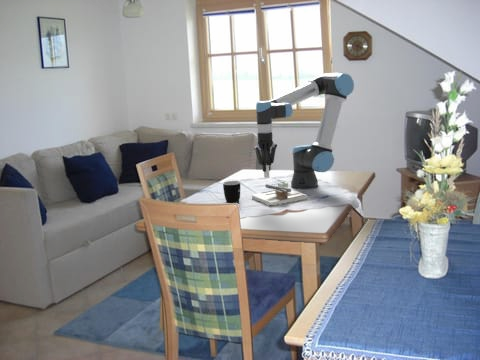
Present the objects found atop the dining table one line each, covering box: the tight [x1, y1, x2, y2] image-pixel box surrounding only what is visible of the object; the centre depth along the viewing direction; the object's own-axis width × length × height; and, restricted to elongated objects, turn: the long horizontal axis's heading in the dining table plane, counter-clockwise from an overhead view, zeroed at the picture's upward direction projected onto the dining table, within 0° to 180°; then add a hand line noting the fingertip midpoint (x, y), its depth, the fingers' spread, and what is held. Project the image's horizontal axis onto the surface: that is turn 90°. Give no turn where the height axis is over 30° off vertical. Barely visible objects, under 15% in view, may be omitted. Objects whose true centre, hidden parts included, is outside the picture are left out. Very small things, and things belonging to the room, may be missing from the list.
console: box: [251, 189, 308, 206], centre depth 294 cm, size 22×19×4 cm
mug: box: [222, 180, 241, 204], centre depth 295 cm, size 12×9×10 cm
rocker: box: [265, 183, 292, 192], centre depth 294 cm, size 14×4×2 cm, turn 119°
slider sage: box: [277, 180, 289, 188], centre depth 303 cm, size 4×4×5 cm
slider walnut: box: [277, 189, 288, 200], centre depth 286 cm, size 4×4×5 cm
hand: (266, 177), depth 289 cm, fingers closed
